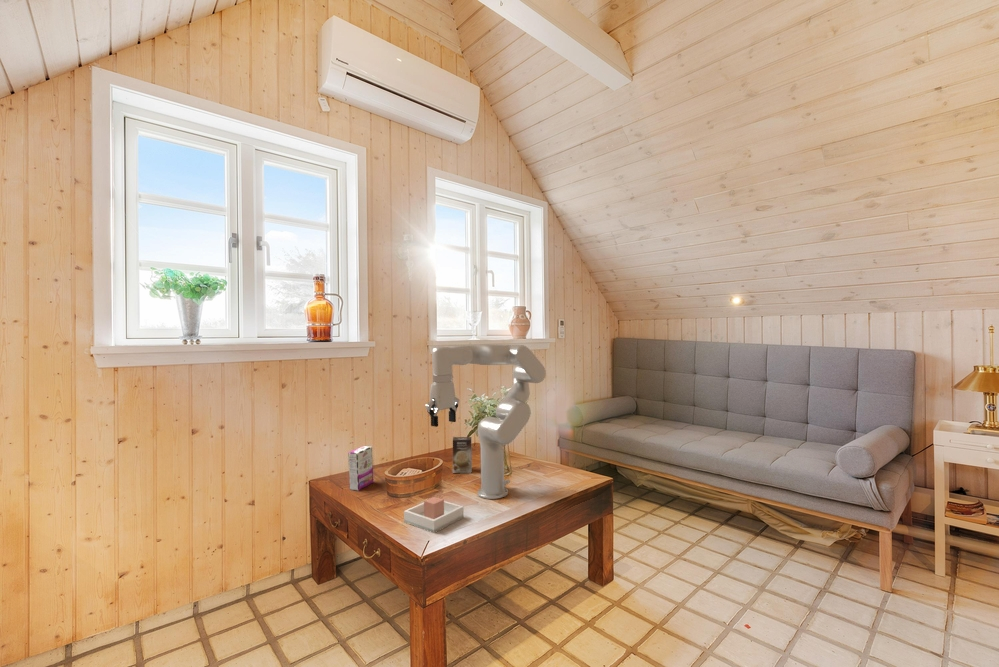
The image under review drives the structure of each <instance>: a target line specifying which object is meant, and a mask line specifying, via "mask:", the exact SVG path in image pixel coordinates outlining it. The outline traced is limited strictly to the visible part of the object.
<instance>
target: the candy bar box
mask: <svg viewBox="0 0 999 667" xmlns="http://www.w3.org/2000/svg"><path fill="white" fill-rule="evenodd" d="M373 461H374V460H373V446H369V445H363V446H361V447H358V448H357V449H354V450H351V451H349V452H348V476H349V490H350V491H361V490H362V489H364V488H366V487H368V486H370V485H371V484H373V483H374V465H373V464H374V463H373Z"/></svg>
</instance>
